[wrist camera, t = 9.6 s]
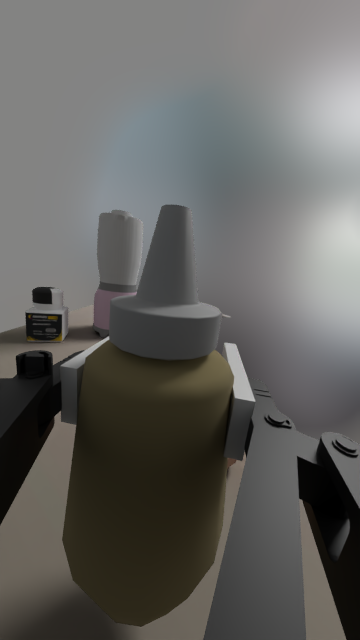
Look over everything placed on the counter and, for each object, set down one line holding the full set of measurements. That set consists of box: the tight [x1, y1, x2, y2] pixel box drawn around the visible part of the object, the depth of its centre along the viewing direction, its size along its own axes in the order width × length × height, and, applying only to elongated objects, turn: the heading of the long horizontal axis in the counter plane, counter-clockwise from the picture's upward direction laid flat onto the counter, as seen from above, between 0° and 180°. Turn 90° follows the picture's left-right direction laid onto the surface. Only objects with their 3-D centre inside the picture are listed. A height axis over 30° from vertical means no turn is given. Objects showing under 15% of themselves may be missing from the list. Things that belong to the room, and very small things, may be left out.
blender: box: [93, 210, 143, 338], centre depth 59 cm, size 16×12×32 cm
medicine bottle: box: [26, 287, 68, 342], centre depth 50 cm, size 7×7×12 cm
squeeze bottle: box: [62, 205, 234, 627], centre depth 10 cm, size 8×8×18 cm
